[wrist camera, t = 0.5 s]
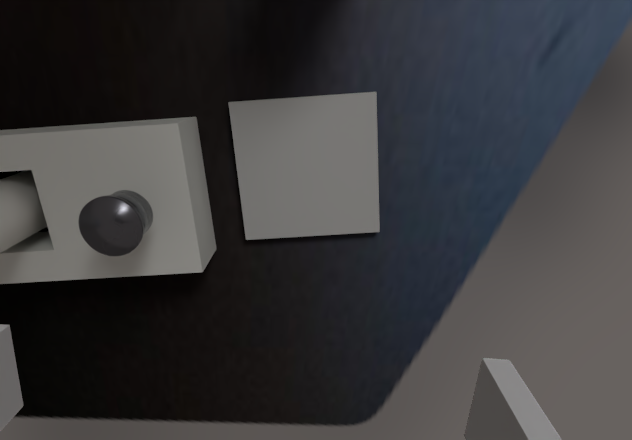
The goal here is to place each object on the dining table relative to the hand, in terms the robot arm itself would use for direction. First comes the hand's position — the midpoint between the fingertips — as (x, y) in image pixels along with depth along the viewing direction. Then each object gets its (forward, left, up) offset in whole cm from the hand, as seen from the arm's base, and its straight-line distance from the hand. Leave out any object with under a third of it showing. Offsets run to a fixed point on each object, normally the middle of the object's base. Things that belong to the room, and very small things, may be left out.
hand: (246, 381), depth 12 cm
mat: (0, +1, -27) cm, 27 cm away
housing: (+1, -23, -27) cm, 36 cm away
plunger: (+1, -12, -20) cm, 23 cm away
